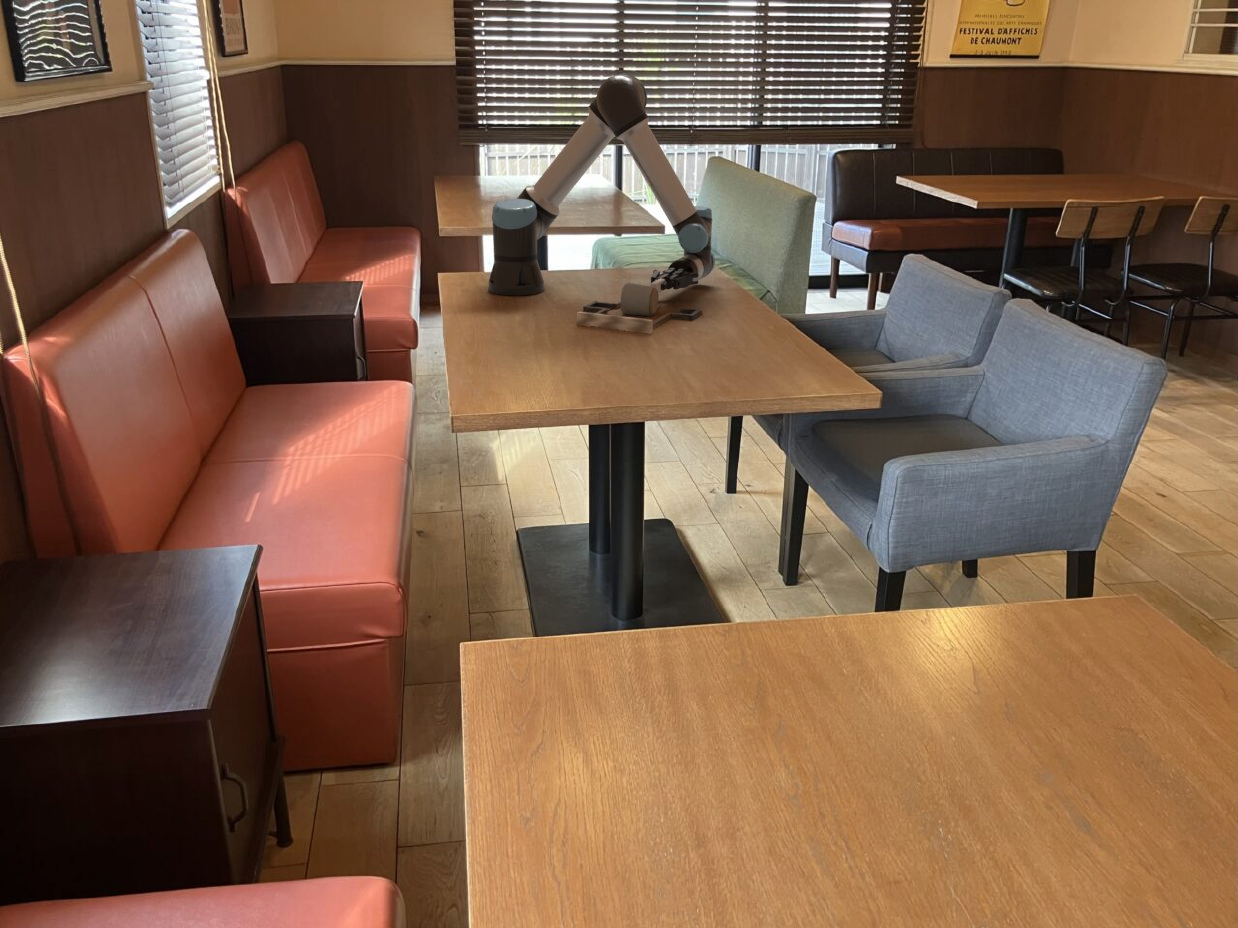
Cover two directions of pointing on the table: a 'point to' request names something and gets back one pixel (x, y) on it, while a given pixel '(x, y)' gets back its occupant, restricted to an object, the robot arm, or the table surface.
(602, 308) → the frame with square trays
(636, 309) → the ceramic mug
